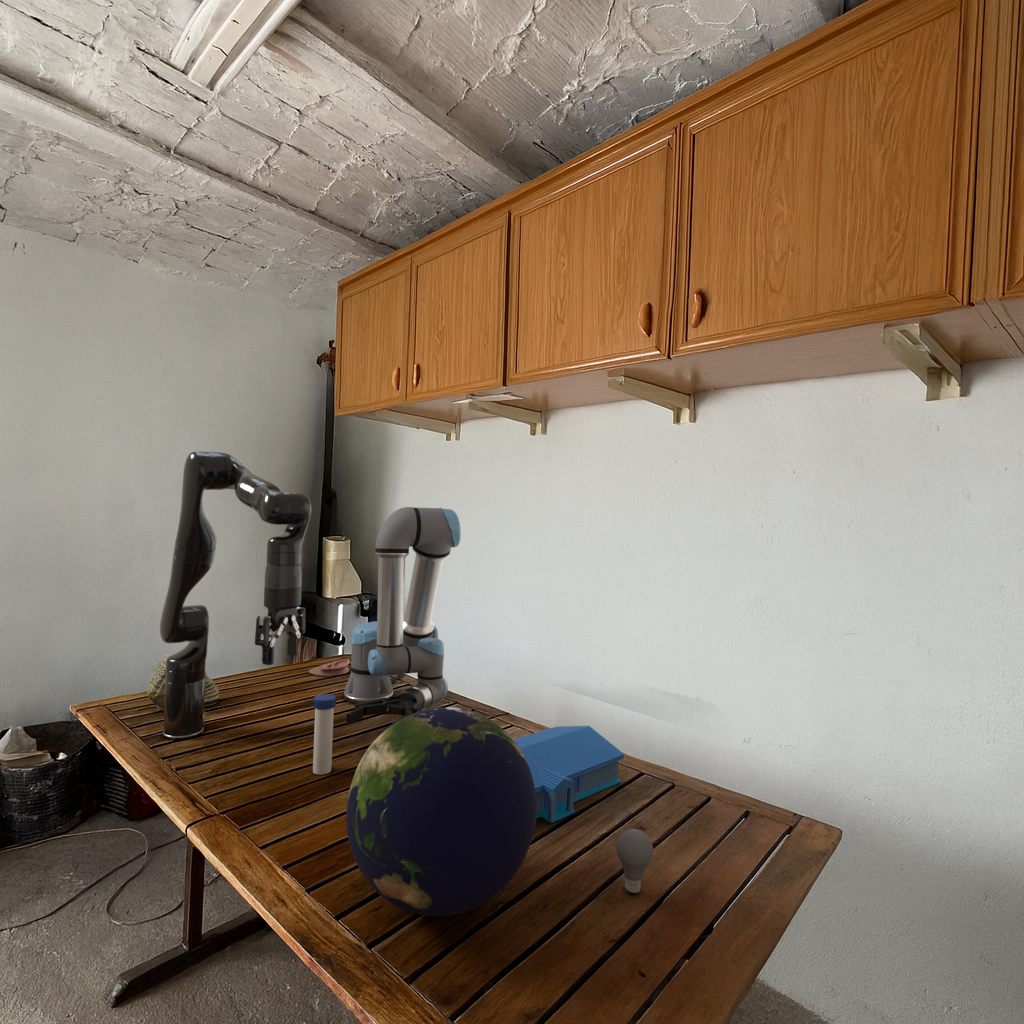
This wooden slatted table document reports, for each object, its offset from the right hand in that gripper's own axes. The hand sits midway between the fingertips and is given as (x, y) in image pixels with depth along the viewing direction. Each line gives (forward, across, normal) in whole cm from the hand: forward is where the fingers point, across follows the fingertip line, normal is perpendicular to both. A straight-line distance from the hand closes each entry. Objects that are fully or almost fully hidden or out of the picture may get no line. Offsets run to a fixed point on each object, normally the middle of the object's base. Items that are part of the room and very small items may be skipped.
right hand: (369, 724), depth 160 cm
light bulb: (+30, -73, -6) cm, 79 cm away
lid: (+16, +2, +11) cm, 19 cm away
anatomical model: (-51, +52, -6) cm, 72 cm away
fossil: (-1, +64, -6) cm, 65 cm away
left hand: (+28, +5, +22) cm, 35 cm away
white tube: (+16, +2, -6) cm, 17 cm away
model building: (+4, -46, -6) cm, 46 cm away
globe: (+46, -45, -6) cm, 64 cm away
